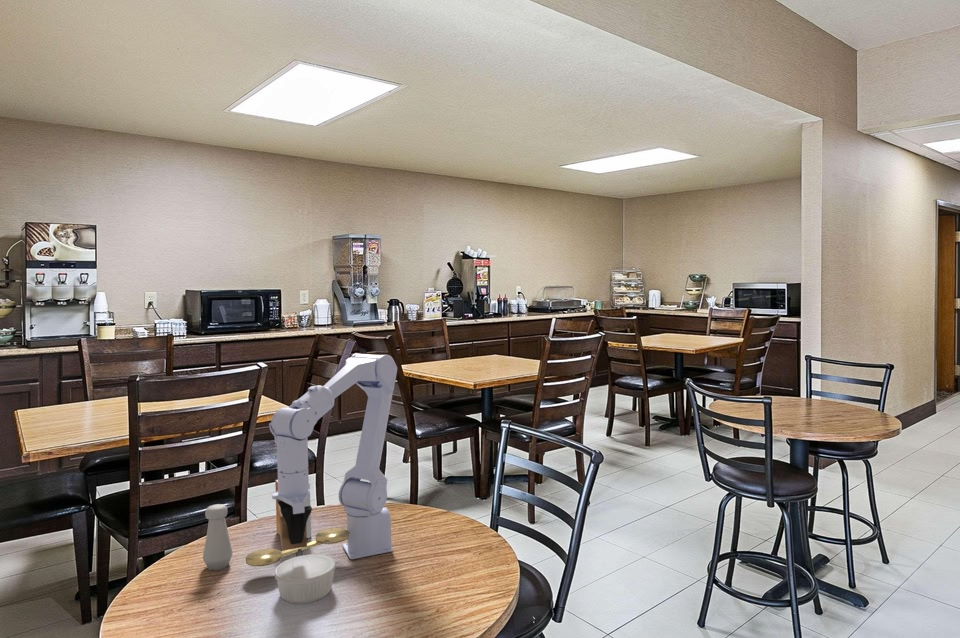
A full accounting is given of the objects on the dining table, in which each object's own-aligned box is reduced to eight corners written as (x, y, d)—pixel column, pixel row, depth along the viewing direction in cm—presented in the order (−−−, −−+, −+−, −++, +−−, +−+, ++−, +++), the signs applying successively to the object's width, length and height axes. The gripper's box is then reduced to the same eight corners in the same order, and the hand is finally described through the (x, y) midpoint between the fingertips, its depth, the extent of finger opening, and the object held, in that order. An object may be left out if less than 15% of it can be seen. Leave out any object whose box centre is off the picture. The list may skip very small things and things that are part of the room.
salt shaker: (222, 573, 127) (219, 511, 126) (197, 571, 128) (195, 510, 127) (238, 561, 132) (236, 502, 132) (214, 559, 134) (212, 500, 133)
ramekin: (263, 595, 118) (263, 568, 117) (313, 574, 126) (312, 549, 126) (297, 614, 111) (296, 585, 110) (347, 590, 119) (346, 564, 119)
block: (304, 537, 122) (303, 513, 122) (306, 546, 118) (306, 521, 118) (280, 541, 121) (279, 516, 120) (282, 550, 117) (281, 524, 116)
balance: (345, 552, 136) (345, 525, 136) (353, 565, 130) (352, 537, 130) (245, 571, 127) (244, 543, 127) (247, 586, 121) (246, 556, 121)
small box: (276, 532, 148) (274, 479, 148) (302, 527, 152) (301, 475, 151) (284, 544, 141) (283, 488, 141) (312, 538, 145) (310, 483, 144)
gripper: (267, 462, 124) (269, 528, 125) (275, 482, 111) (277, 556, 111) (303, 458, 127) (305, 522, 127) (315, 477, 114) (316, 549, 114)
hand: (294, 538), depth 120 cm, fingers closed on block, 4 cm apart
